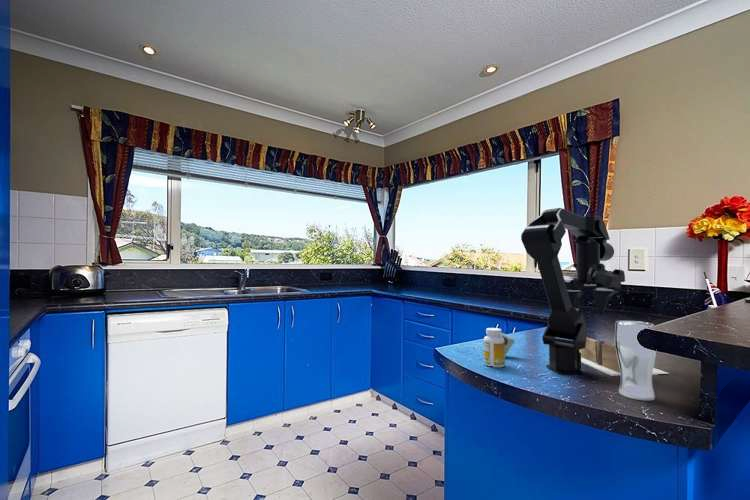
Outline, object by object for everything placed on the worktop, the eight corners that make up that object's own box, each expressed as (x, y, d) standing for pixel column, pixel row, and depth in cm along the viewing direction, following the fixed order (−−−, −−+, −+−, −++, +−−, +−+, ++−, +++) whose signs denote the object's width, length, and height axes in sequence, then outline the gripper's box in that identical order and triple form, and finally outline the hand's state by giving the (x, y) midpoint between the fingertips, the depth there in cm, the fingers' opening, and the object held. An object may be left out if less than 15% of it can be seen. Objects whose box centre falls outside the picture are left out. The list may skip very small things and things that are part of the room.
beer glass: (608, 389, 77) (606, 320, 77) (638, 388, 77) (635, 320, 78) (634, 402, 70) (632, 326, 70) (667, 401, 70) (664, 325, 71)
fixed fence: (627, 378, 84) (626, 350, 84) (595, 365, 95) (595, 340, 95) (634, 378, 84) (633, 350, 84) (602, 365, 95) (601, 340, 95)
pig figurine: (514, 354, 106) (514, 332, 107) (518, 358, 102) (517, 334, 103) (487, 353, 107) (486, 331, 108) (489, 357, 103) (489, 334, 104)
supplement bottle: (506, 364, 96) (506, 328, 97) (502, 369, 92) (501, 331, 92) (487, 361, 99) (486, 326, 100) (481, 365, 95) (481, 329, 95)
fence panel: (600, 361, 95) (600, 341, 96) (595, 361, 95) (594, 341, 96) (578, 352, 105) (577, 334, 105) (572, 352, 105) (572, 334, 105)
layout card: (612, 375, 86) (612, 373, 86) (568, 356, 104) (568, 354, 104) (668, 374, 87) (668, 372, 87) (615, 355, 105) (615, 354, 105)
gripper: (589, 259, 89) (590, 320, 89) (640, 260, 96) (641, 318, 95) (554, 259, 100) (554, 315, 99) (601, 261, 106) (602, 313, 105)
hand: (589, 315), depth 99 cm, fingers open, 9 cm apart
